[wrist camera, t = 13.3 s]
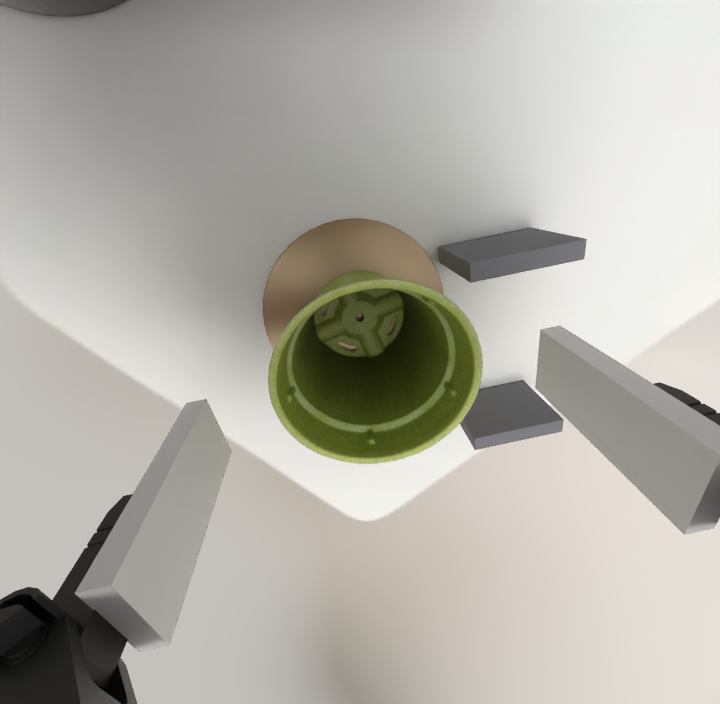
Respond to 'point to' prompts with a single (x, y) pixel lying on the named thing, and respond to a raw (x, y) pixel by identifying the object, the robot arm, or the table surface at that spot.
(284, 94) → the table surface
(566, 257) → the twin grey plates
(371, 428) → the plant pot
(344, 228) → the coaster
